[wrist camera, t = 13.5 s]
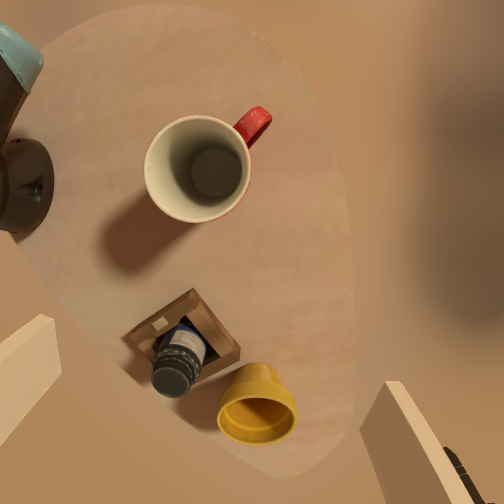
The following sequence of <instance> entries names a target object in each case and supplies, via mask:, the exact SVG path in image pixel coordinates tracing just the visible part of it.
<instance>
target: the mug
mask: <svg viewBox="0 0 504 504" xmlns="http://www.w3.org/2000/svg"><path fill="white" fill-rule="evenodd" d="M271 122H272V116H271V115H270V113H269V112H268V111H266V110H265V109H264V108H262V107H260V106H257V107H254V108H253V109H251V110H250V111H249V112H247V113H246V114H245V115H244V116H243V117H242V118H241V119H240V120H239V121H238V122H237V123H236V124H235V125H234V126H233V127H232V126H230V125H229V124H227V123H226V122H224V121H222V120H220V119H217V118H214V117H211V116H205V115H193V116H187V117H183V118H180V119H177V120H175V121H173V122H171V123H170V124H168V125H167V126H165V127H164V128H163V129H162V130H160V132H159V133H158V134H157V135H156V136H155V137H154V139H153V140H152V142H151V144H150V145H149V147H148V150H147V152H146V155H145V160H144V166H143V174H144V181H145V185H146V188H147V191H148V193H149V195H150V197H151V198H152V200H153V202H154V203H155V204H156V205H157V207H159V208H160V209H161V210H162V211H163V212H164V213H166V214H167V215H169V216H170V217H172V218H174V219H176V220H179V221H183V222H187V223H206V222H210V221H213V220H216V219H218V218H221V217H223V216H224V215H226V214H227V213H229V212H230V211H231V210H233V209H234V208H235V207H236V206H237V205H238V204H239V202H240V201H241V200H242V198H243V197H244V195H245V193H246V192H247V189H248V187H249V184H250V179H251V175H252V161H251V156H250V152H249V149H250V147H251V146H252V145H253V144H254V143H255V142H256V140H257V139H258V138H259V137H260V136H261V135H262V134H263V132H264V131H265V130H266V129H267V127H268V126H269V125H270V123H271Z"/></svg>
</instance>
